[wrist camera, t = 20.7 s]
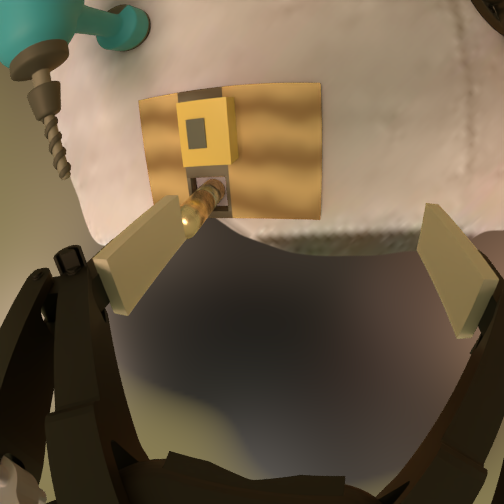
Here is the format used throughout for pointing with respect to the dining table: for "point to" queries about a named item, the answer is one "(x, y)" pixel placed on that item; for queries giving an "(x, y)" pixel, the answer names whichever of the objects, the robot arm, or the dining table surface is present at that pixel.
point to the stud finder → (208, 132)
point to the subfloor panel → (246, 150)
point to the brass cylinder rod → (200, 206)
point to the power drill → (59, 49)
